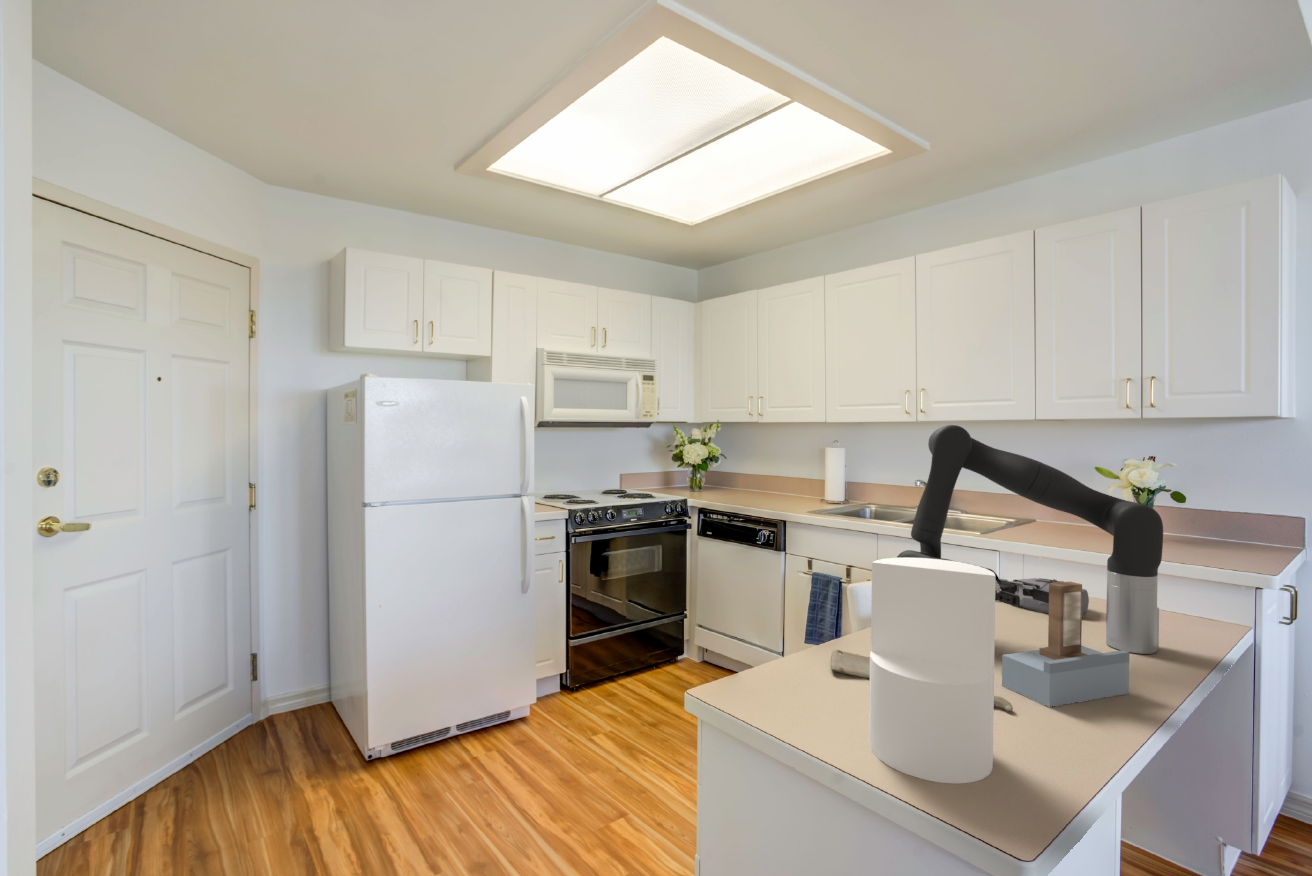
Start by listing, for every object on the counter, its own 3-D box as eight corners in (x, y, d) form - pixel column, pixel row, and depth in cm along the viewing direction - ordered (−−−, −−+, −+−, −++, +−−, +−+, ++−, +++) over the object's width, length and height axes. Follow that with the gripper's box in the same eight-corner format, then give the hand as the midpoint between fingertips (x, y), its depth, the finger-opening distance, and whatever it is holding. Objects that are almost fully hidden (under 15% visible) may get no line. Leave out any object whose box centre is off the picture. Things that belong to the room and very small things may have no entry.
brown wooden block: (1060, 651, 123) (1061, 579, 123) (1090, 661, 117) (1091, 586, 117) (1039, 654, 121) (1040, 581, 121) (1068, 665, 116) (1069, 588, 115)
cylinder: (880, 716, 107) (882, 553, 107) (995, 742, 99) (997, 565, 98) (857, 761, 92) (859, 572, 92) (990, 797, 84) (993, 588, 83)
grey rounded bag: (1093, 611, 173) (1014, 596, 188) (1094, 581, 173) (1015, 569, 188) (1078, 621, 163) (995, 605, 178) (1078, 590, 163) (996, 576, 178)
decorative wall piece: (837, 704, 114) (1016, 718, 108) (837, 688, 114) (1016, 701, 108) (824, 648, 144) (964, 656, 138) (824, 635, 144) (964, 643, 138)
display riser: (1077, 673, 127) (1078, 635, 127) (1128, 693, 118) (1129, 652, 118) (1001, 685, 121) (1002, 645, 121) (1049, 707, 111) (1049, 663, 111)
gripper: (945, 566, 138) (1008, 583, 123) (994, 562, 143) (1061, 578, 128) (944, 600, 138) (1007, 621, 123) (994, 595, 143) (1060, 615, 128)
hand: (1034, 599), depth 125 cm, fingers open, 8 cm apart
